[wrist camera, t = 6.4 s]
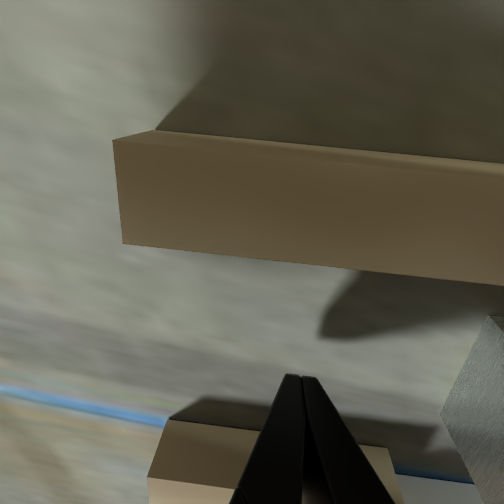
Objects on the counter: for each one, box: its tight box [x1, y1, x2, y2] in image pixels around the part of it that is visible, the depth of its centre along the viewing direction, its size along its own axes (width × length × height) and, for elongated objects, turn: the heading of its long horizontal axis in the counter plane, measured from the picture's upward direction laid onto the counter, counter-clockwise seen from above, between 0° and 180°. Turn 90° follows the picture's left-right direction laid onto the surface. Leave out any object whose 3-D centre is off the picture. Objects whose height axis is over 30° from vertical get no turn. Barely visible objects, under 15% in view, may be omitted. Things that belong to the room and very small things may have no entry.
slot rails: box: [112, 130, 504, 504], centre depth 9 cm, size 12×8×2 cm, turn 175°
